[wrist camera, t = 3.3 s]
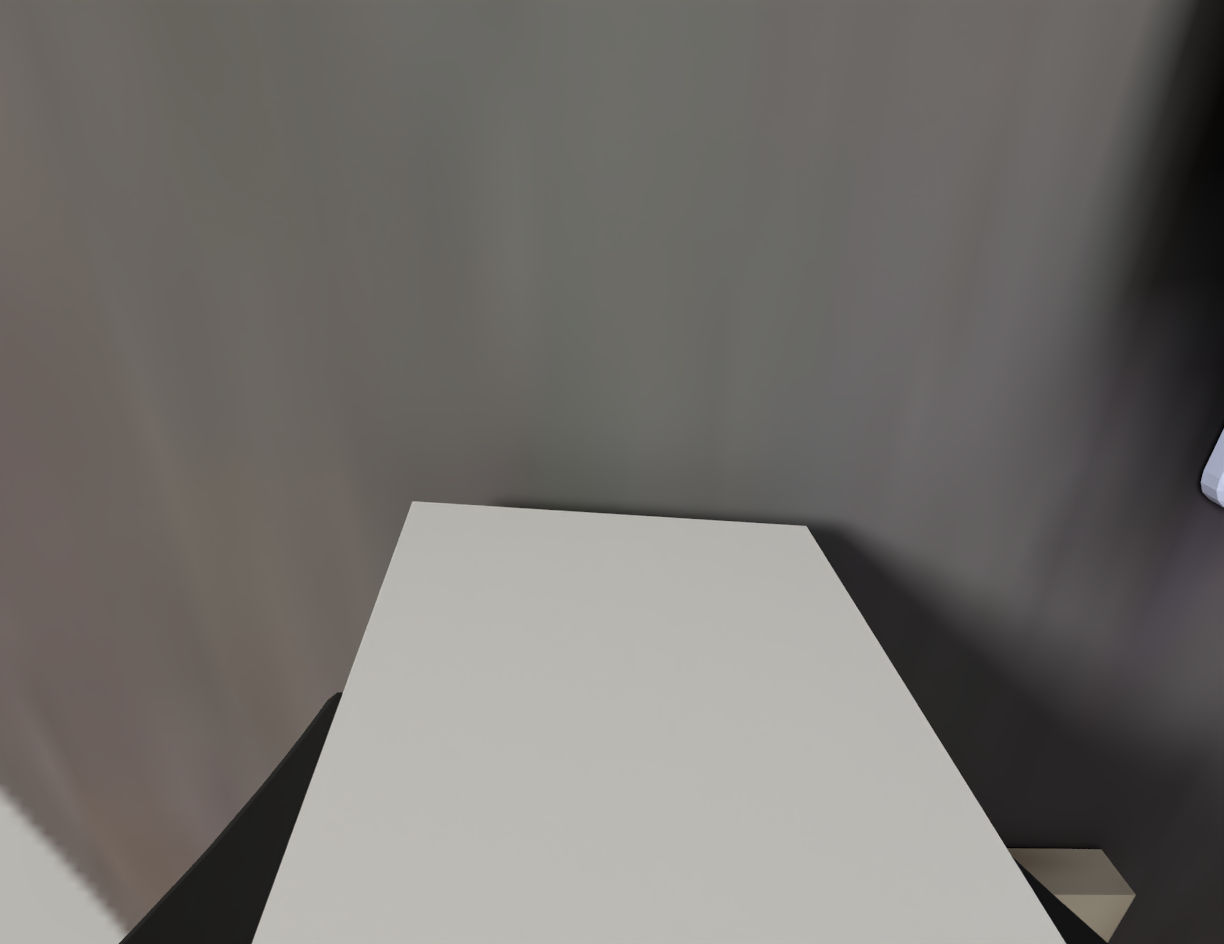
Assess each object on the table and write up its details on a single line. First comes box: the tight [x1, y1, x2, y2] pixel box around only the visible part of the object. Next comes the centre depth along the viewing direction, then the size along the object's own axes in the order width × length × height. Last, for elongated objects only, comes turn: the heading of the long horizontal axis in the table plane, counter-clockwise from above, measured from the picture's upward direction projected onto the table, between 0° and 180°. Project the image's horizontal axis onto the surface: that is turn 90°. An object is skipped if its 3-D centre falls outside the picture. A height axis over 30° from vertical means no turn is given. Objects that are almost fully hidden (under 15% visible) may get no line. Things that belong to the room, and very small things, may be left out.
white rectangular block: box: [252, 501, 1066, 944], centre depth 8 cm, size 5×5×7 cm
